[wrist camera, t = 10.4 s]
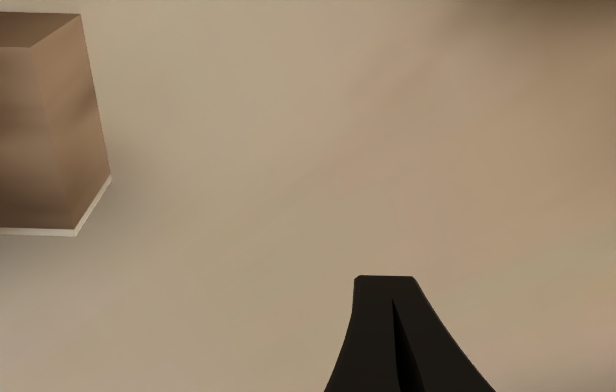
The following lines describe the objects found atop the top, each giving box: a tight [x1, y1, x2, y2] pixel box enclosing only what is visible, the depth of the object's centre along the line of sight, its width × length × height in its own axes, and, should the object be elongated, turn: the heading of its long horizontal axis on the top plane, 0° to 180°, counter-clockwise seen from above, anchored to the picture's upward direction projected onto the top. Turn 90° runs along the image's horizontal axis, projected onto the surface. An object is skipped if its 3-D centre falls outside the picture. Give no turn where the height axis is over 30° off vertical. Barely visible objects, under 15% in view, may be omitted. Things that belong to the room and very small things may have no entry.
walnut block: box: [0, 12, 112, 237], centre depth 19 cm, size 5×4×7 cm
